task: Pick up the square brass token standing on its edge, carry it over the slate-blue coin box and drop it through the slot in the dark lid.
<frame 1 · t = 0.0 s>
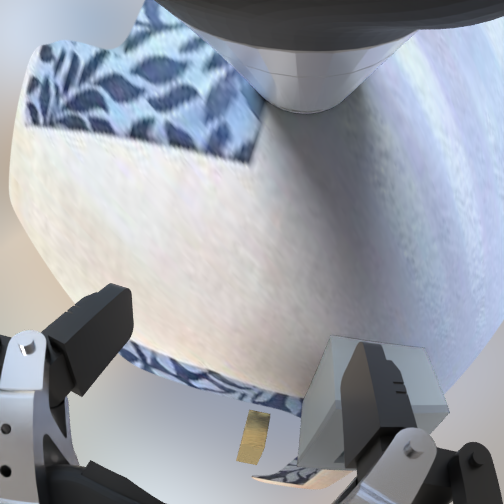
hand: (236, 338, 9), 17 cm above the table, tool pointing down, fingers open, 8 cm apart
token: (256, 422, 37), on the table
coin box: (361, 379, 31), on the table
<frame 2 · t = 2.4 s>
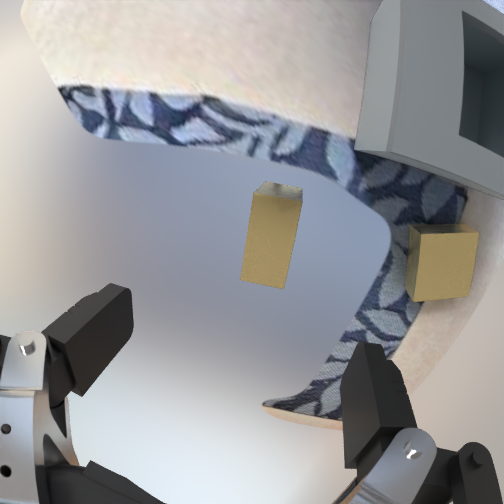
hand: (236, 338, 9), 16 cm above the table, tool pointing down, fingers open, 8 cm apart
token: (277, 219, 24), on the table
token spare: (434, 254, 23), on the table
coin box: (430, 102, 18), on the table
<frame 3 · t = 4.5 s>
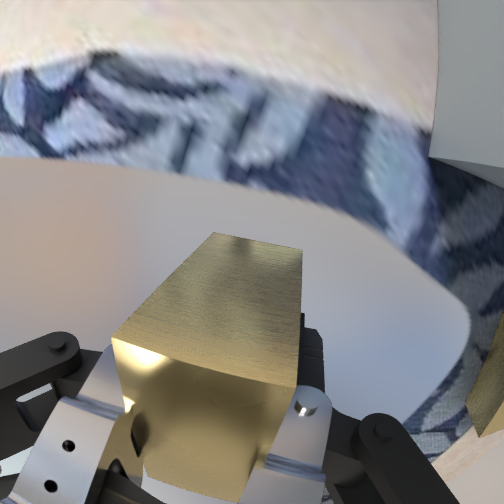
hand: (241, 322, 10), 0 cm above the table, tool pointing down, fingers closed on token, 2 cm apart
token: (244, 316, 11), on the table, touching gripper
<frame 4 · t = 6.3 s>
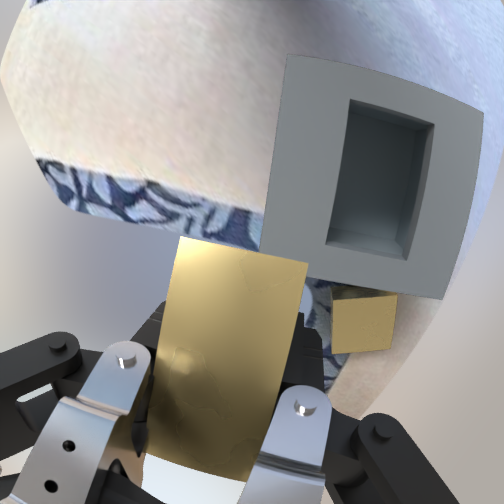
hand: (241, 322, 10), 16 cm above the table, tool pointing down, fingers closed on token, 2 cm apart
token: (243, 336, 12), point 15 cm above the table, tilted 26°, touching gripper
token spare: (359, 310, 27), on the table
coin box: (352, 171, 23), on the table
when the fingers open (12 cm above the table, at t = 8.0 s): token drops 8 cm and tips over, resting on coin box.
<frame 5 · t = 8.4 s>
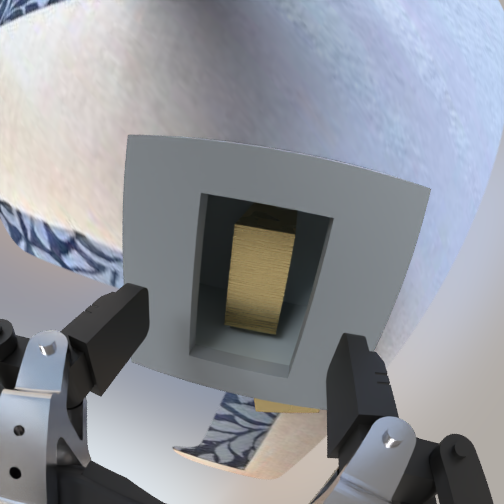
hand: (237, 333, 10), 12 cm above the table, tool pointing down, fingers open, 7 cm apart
token: (257, 304, 19), point 4 cm above the table, tilted 90°, touching coin box
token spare: (289, 370, 26), on the table
coin box: (273, 232, 21), on the table
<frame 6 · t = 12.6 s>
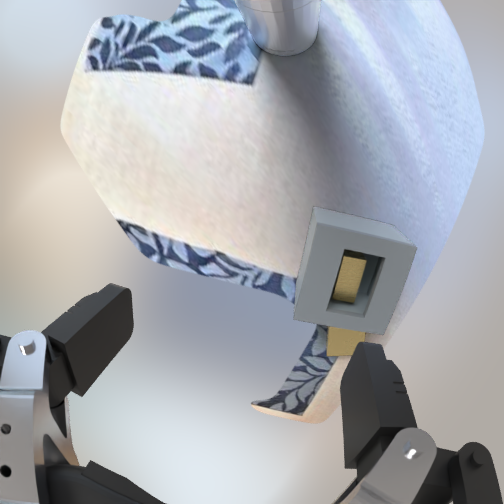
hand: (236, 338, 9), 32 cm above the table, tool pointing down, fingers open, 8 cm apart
token: (340, 290, 39), point 4 cm above the table, tilted 90°, touching coin box
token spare: (344, 330, 45), on the table
coin box: (344, 255, 41), on the table
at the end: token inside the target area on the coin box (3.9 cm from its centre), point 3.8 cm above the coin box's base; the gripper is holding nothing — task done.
